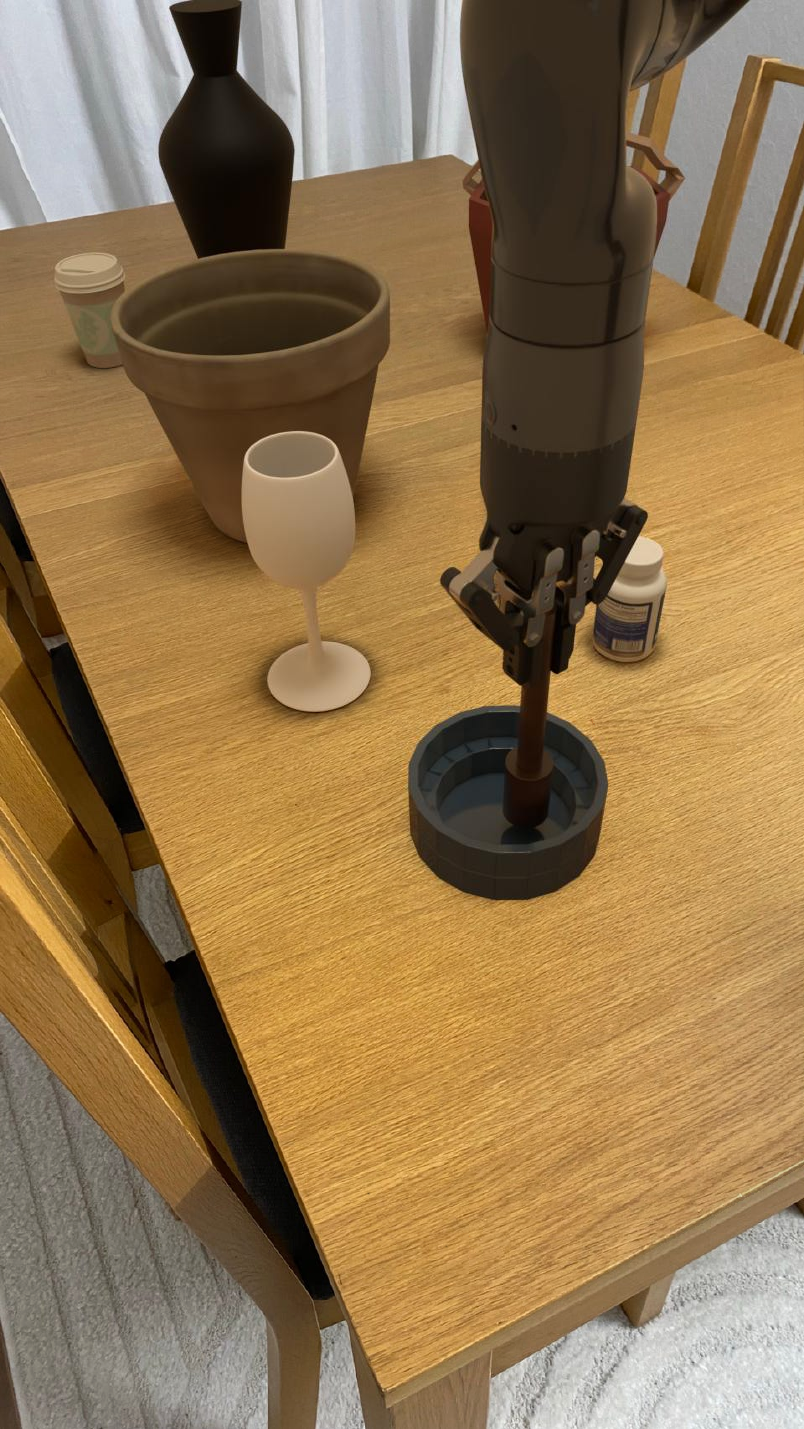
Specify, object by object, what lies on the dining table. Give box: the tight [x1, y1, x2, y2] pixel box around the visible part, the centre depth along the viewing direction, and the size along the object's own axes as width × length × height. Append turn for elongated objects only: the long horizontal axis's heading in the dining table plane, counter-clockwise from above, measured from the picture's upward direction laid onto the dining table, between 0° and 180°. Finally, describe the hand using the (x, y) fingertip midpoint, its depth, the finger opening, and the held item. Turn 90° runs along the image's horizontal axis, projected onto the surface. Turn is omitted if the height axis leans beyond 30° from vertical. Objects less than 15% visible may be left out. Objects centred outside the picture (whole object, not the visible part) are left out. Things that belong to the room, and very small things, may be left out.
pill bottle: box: [592, 535, 668, 663], centre depth 82 cm, size 5×5×10 cm
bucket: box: [462, 131, 686, 333], centre depth 118 cm, size 24×22×25 cm
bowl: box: [407, 704, 609, 901], centre depth 69 cm, size 13×13×6 cm
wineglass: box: [242, 431, 372, 713], centre depth 76 cm, size 9×9×21 cm
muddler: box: [502, 603, 557, 828], centre depth 63 cm, size 3×3×18 cm
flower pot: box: [110, 248, 391, 544], centre depth 95 cm, size 25×25×22 cm
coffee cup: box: [53, 252, 126, 369], centre depth 125 cm, size 8×9×12 cm
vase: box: [157, 0, 296, 259], centre depth 127 cm, size 17×17×35 cm
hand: (537, 672), depth 60 cm, fingers closed on muddler
